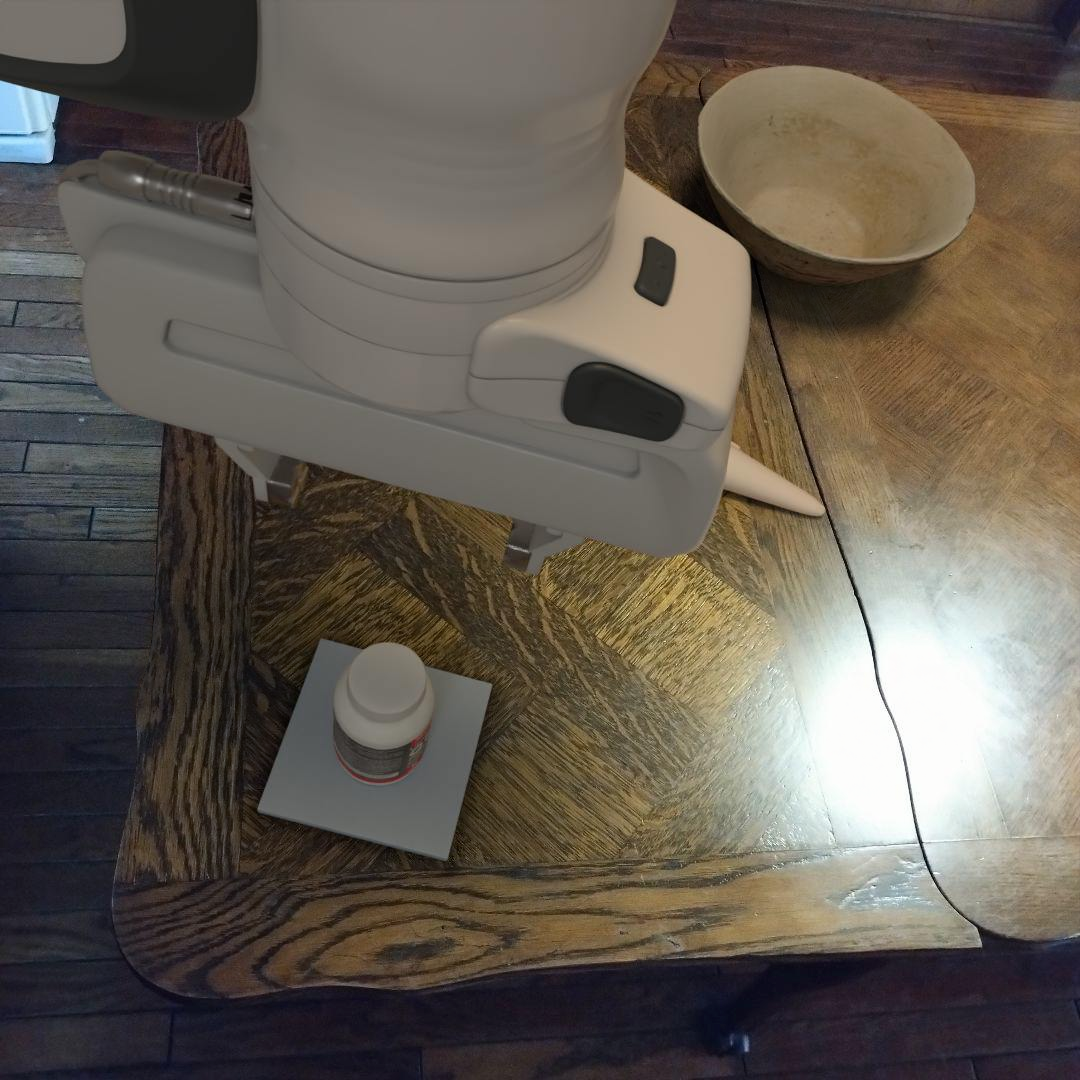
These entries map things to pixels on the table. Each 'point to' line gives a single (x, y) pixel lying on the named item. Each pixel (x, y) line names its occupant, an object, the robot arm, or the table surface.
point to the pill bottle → (382, 714)
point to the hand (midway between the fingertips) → (403, 523)
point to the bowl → (831, 174)
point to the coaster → (367, 810)
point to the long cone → (766, 485)
